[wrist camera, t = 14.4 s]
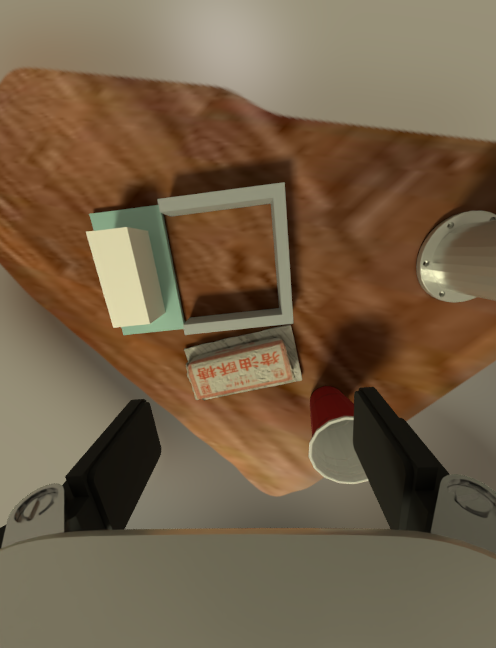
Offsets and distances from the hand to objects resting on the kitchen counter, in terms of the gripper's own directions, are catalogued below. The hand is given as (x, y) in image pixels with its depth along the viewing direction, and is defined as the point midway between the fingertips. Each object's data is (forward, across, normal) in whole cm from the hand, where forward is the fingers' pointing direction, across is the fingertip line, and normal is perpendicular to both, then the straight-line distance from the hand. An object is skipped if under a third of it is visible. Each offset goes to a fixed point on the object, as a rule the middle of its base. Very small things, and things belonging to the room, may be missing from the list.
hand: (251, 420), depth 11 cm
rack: (+28, +4, -6) cm, 28 cm away
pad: (+27, +17, -5) cm, 33 cm away
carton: (+26, +17, -5) cm, 32 cm away
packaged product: (+28, +4, +11) cm, 31 cm away
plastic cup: (+28, -10, +19) cm, 36 cm away
